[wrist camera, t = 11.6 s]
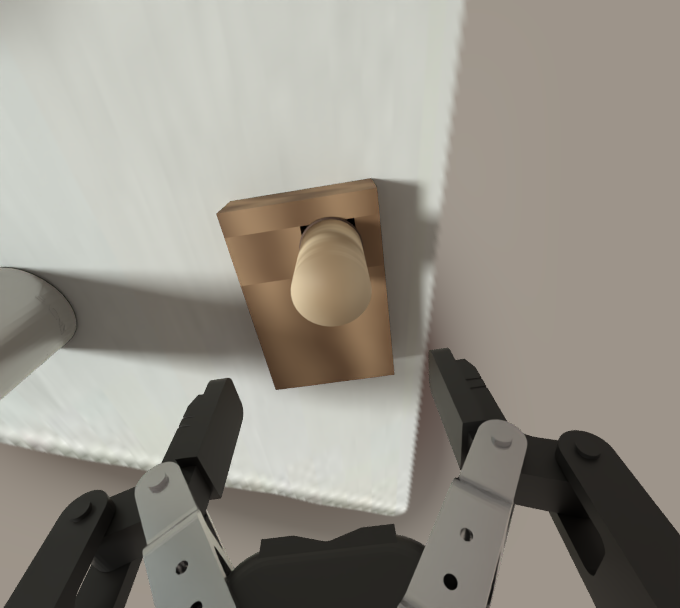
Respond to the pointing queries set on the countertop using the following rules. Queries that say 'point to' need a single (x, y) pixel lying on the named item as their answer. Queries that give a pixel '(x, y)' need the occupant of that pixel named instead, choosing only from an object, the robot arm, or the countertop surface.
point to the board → (276, 278)
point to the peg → (331, 273)
